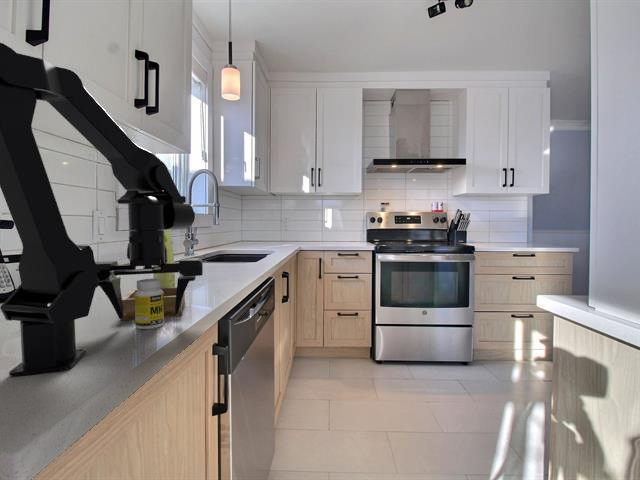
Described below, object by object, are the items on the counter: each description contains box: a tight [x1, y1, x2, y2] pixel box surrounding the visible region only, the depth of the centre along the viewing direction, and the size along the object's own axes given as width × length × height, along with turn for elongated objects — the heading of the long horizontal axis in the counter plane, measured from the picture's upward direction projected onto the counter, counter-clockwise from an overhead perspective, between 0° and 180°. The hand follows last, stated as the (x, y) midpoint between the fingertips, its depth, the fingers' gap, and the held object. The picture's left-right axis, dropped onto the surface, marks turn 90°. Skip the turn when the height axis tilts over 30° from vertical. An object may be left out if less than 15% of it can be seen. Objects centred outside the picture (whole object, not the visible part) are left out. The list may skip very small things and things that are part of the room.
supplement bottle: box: [134, 278, 165, 330], centre depth 64 cm, size 5×5×8 cm
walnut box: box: [119, 286, 186, 322], centre depth 74 cm, size 11×11×4 cm
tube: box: [152, 229, 176, 288], centre depth 84 cm, size 6×5×20 cm
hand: (149, 315), depth 64 cm, fingers open, 9 cm apart
